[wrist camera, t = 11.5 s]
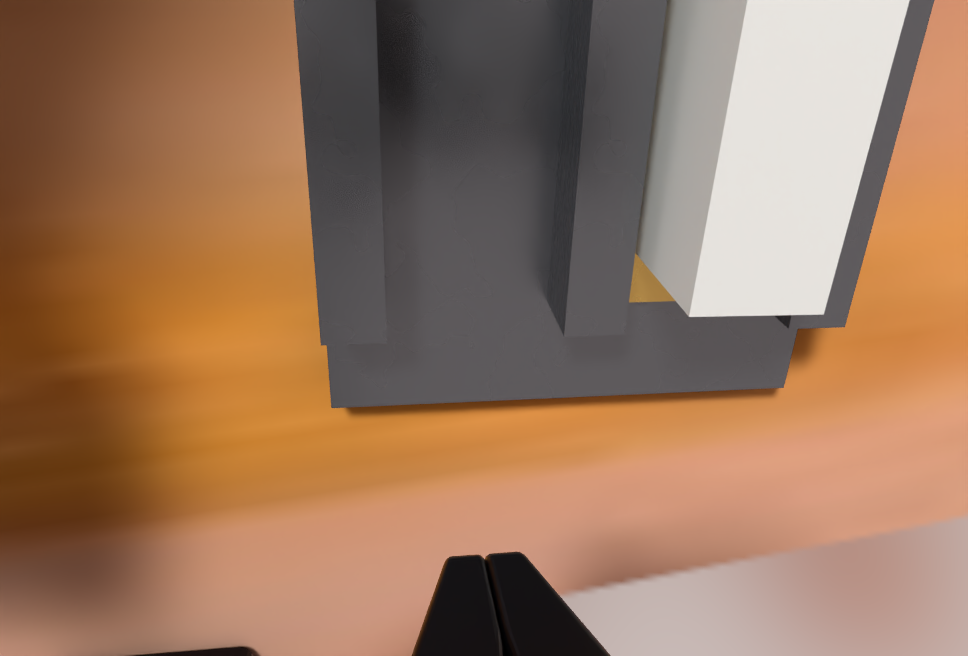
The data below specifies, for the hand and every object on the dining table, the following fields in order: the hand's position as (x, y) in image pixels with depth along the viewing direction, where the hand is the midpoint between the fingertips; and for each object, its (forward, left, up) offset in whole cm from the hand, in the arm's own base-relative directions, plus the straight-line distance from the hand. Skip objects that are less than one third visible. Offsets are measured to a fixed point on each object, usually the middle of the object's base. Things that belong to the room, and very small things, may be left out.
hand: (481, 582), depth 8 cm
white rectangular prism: (+3, -7, -11) cm, 14 cm away
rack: (+3, -4, -12) cm, 13 cm away
